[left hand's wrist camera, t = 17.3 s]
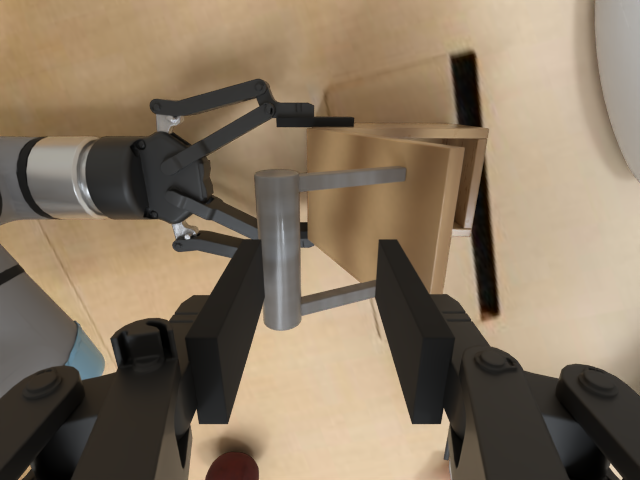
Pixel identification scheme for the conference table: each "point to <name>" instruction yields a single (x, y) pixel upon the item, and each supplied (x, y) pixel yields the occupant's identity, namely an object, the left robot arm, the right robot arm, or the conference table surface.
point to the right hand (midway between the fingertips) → (350, 179)
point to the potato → (233, 467)
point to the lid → (355, 216)
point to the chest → (446, 135)
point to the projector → (621, 72)
